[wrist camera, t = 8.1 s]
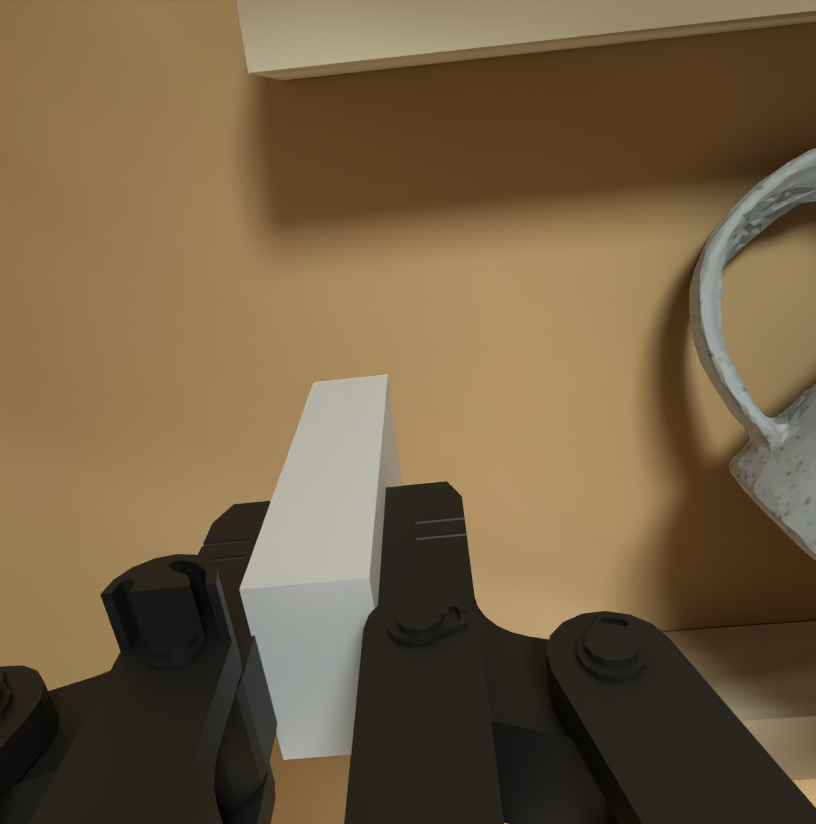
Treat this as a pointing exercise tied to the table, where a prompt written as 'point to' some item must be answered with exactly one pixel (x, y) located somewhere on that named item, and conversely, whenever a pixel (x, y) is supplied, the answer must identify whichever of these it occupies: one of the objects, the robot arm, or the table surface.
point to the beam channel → (540, 32)
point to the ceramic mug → (768, 437)
